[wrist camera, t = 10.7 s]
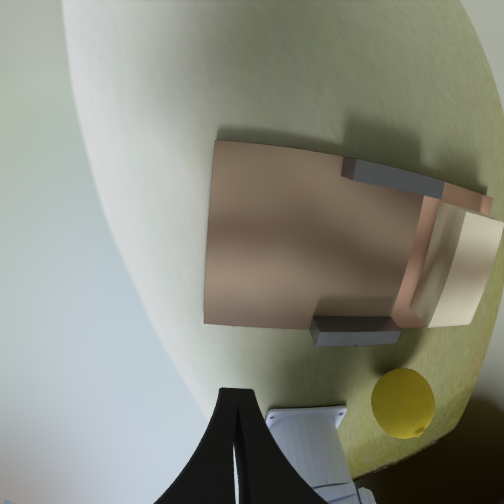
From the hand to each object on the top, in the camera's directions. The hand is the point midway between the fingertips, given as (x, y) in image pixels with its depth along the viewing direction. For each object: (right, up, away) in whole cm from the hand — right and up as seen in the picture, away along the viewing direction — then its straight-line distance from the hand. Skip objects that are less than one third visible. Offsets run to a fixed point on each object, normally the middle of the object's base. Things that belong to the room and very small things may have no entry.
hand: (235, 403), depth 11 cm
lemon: (+14, -5, +13) cm, 20 cm away
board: (+9, +6, +8) cm, 14 cm away
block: (+16, +6, +8) cm, 19 cm away
